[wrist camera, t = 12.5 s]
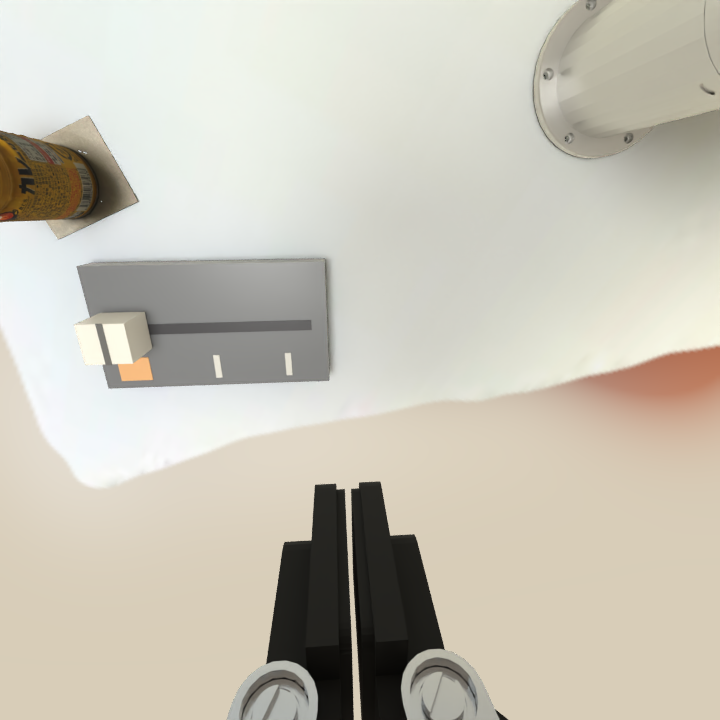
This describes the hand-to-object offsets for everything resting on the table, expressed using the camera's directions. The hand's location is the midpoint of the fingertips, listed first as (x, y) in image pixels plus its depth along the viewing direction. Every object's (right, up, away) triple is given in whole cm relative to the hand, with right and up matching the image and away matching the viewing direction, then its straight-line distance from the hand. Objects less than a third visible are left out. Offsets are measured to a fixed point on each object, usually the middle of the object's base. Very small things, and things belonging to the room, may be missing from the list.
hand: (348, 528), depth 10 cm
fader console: (-14, +8, +30) cm, 34 cm away
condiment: (-25, +20, +25) cm, 41 cm away
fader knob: (-22, +7, +27) cm, 35 cm away
